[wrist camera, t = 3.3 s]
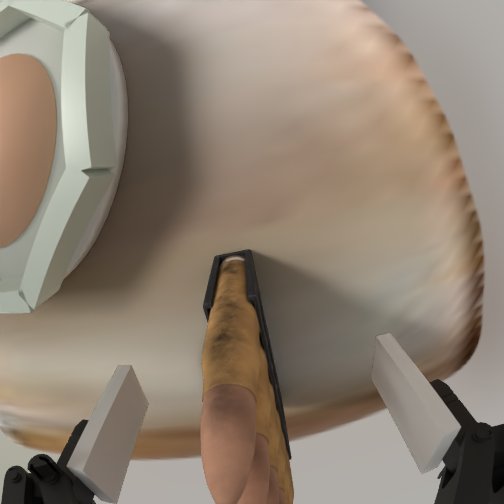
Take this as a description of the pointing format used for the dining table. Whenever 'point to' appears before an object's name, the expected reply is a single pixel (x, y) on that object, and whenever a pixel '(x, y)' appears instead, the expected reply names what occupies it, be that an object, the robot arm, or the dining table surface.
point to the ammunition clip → (241, 392)
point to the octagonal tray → (55, 143)
